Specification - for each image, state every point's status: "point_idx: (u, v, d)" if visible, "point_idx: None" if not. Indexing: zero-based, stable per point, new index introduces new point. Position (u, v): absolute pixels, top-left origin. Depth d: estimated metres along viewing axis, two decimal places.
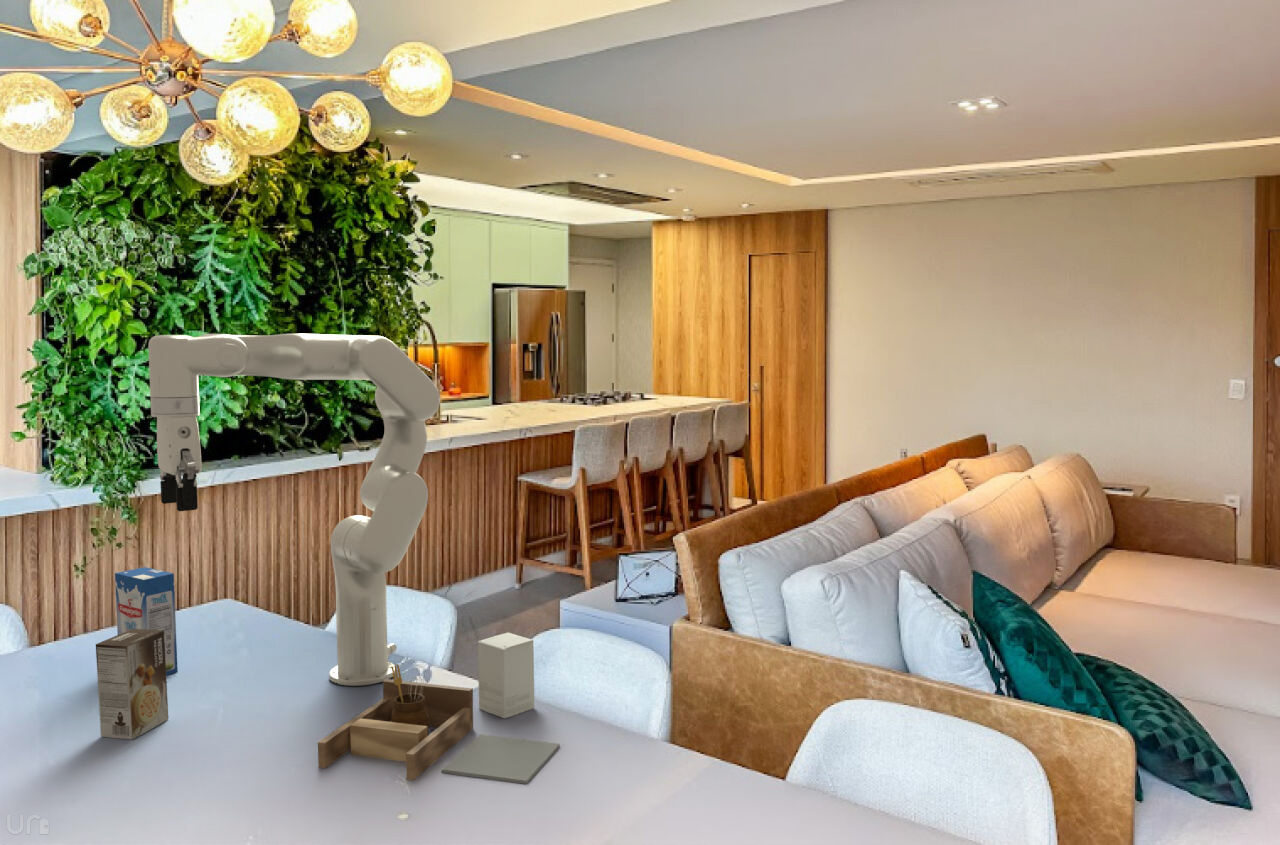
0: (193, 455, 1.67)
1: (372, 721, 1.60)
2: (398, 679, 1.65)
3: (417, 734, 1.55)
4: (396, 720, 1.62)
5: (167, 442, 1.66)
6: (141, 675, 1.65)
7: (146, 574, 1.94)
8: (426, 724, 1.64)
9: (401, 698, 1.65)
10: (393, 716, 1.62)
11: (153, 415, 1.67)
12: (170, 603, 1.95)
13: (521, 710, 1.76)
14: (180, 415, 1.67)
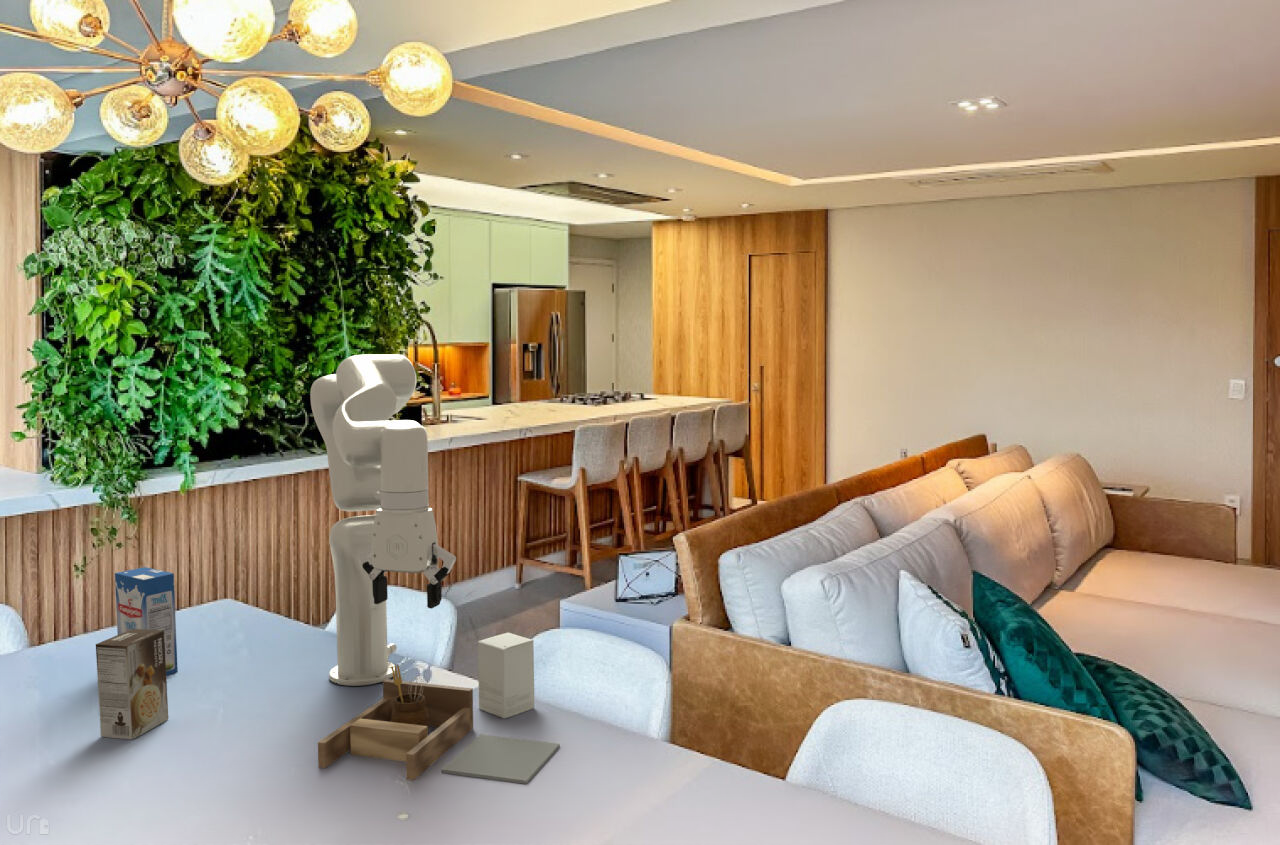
0: None
1: (372, 721, 1.60)
2: (398, 679, 1.65)
3: (417, 734, 1.55)
4: (396, 720, 1.62)
5: None
6: (141, 675, 1.65)
7: (146, 574, 1.94)
8: (426, 724, 1.64)
9: (401, 698, 1.65)
10: (393, 716, 1.62)
11: None
12: (170, 603, 1.95)
13: (521, 710, 1.76)
14: None
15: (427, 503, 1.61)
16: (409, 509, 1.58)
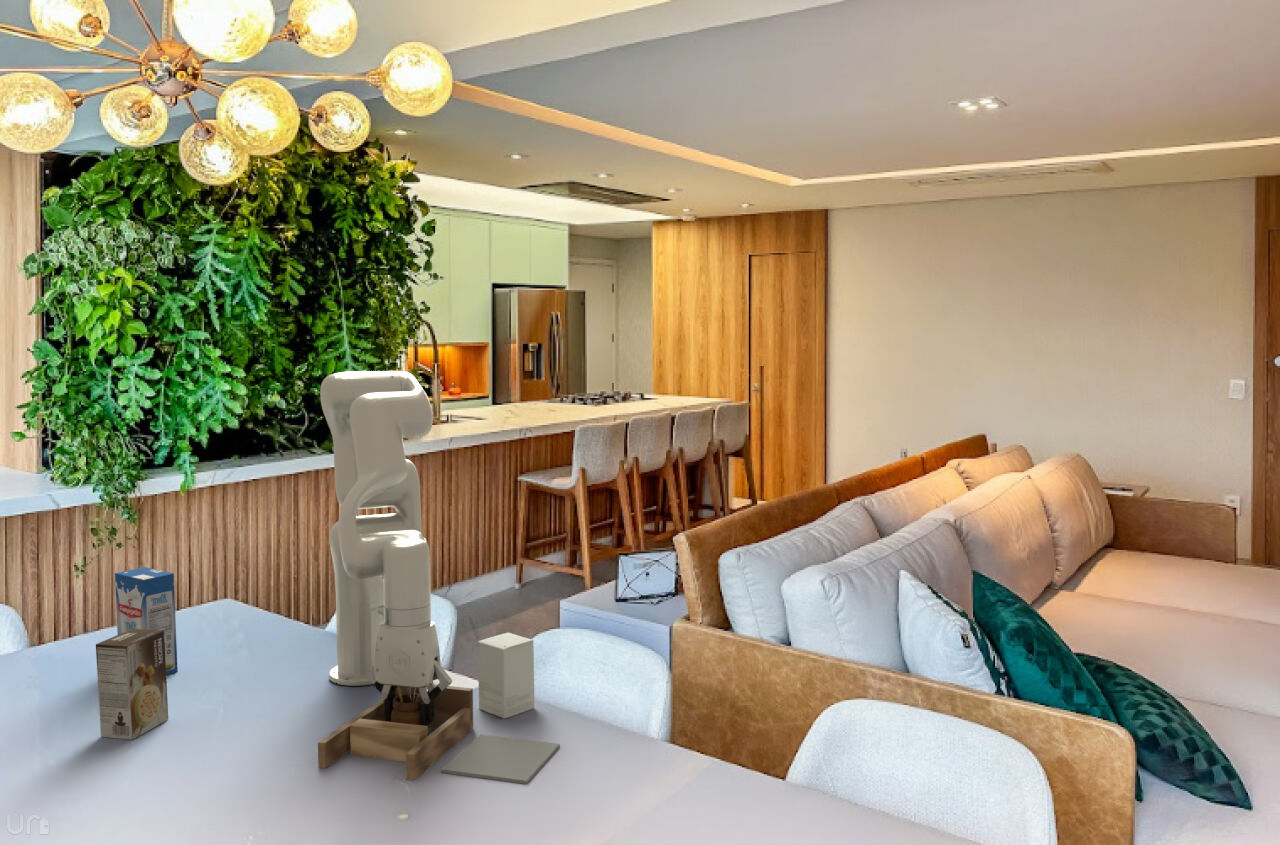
0: None
1: (372, 721, 1.59)
2: None
3: (418, 734, 1.55)
4: (395, 720, 1.62)
5: None
6: (141, 675, 1.65)
7: (146, 574, 1.94)
8: None
9: (400, 698, 1.65)
10: (392, 716, 1.62)
11: None
12: (170, 603, 1.95)
13: (521, 710, 1.76)
14: None
15: (429, 617, 1.62)
16: (411, 626, 1.59)
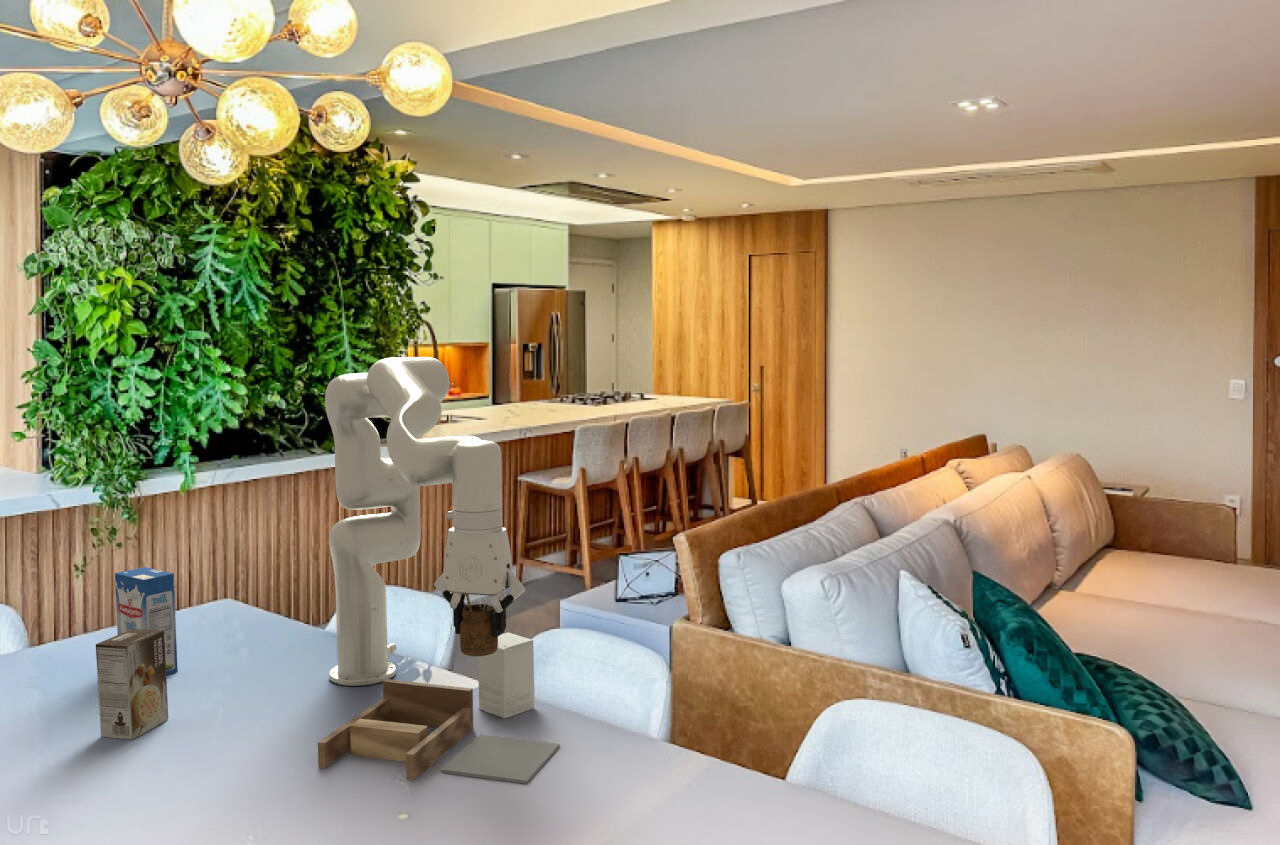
0: None
1: (372, 721, 1.60)
2: None
3: (417, 733, 1.55)
4: (465, 629, 1.54)
5: None
6: (141, 675, 1.65)
7: (146, 574, 1.94)
8: None
9: (470, 608, 1.57)
10: (462, 626, 1.55)
11: None
12: (170, 603, 1.95)
13: (521, 710, 1.76)
14: None
15: (501, 523, 1.55)
16: (483, 529, 1.52)
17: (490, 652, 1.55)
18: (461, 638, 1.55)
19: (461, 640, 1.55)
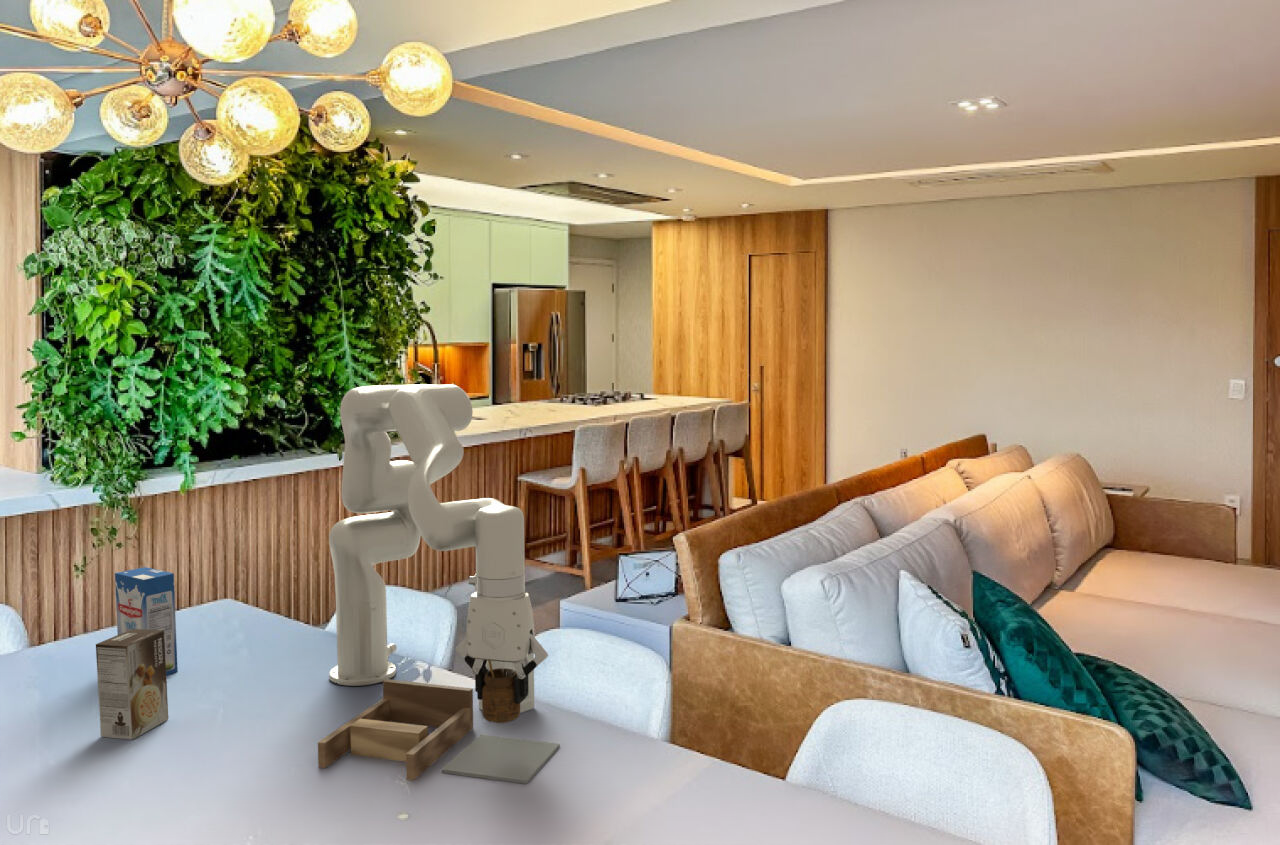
0: None
1: (372, 721, 1.59)
2: None
3: (417, 734, 1.55)
4: (488, 696, 1.53)
5: None
6: (141, 675, 1.65)
7: (146, 574, 1.94)
8: None
9: (492, 673, 1.56)
10: (485, 692, 1.54)
11: None
12: (170, 603, 1.95)
13: (521, 710, 1.76)
14: None
15: (524, 588, 1.54)
16: (507, 597, 1.51)
17: (513, 718, 1.54)
18: (484, 704, 1.54)
19: (484, 706, 1.54)
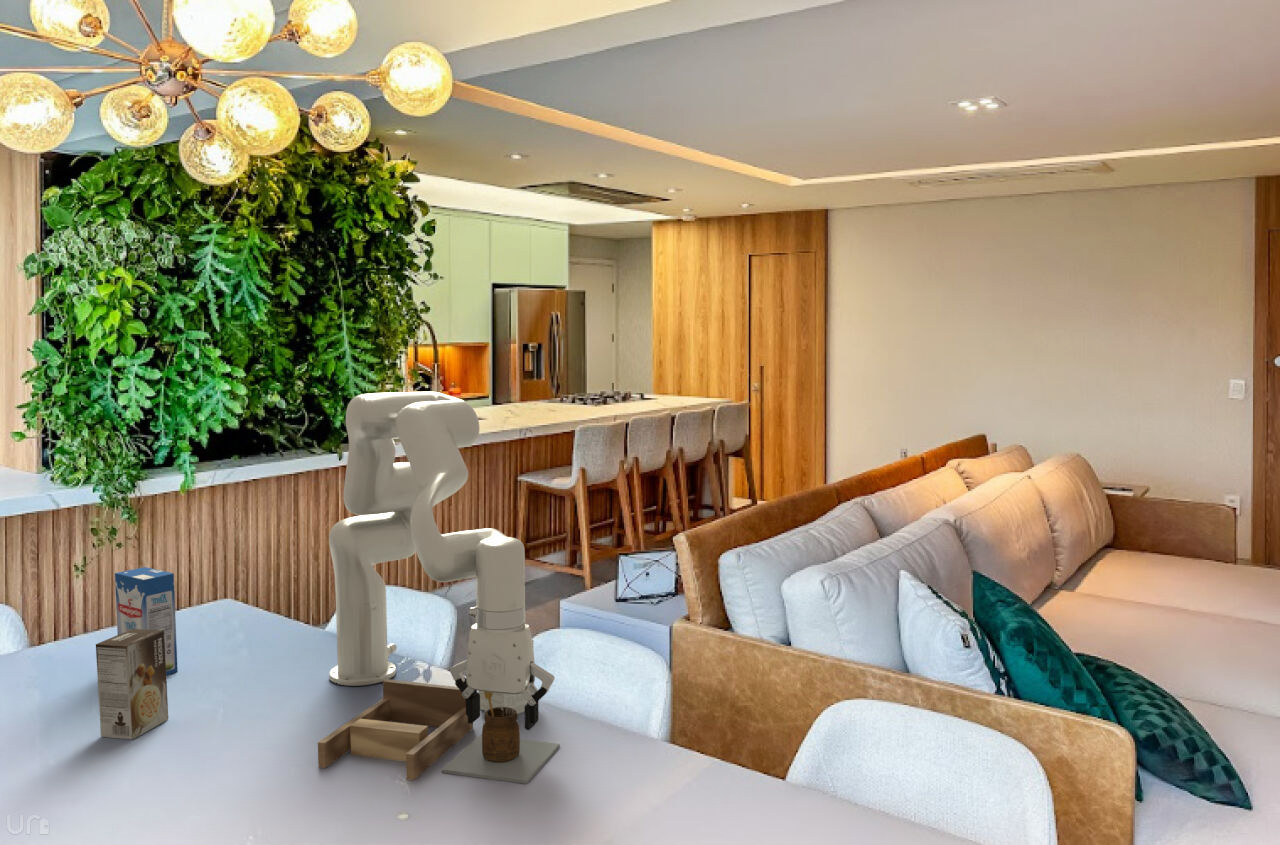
0: None
1: (372, 721, 1.59)
2: (489, 692, 1.57)
3: (418, 734, 1.55)
4: (488, 735, 1.54)
5: None
6: (141, 675, 1.65)
7: (146, 574, 1.94)
8: (518, 740, 1.56)
9: (492, 712, 1.57)
10: (484, 731, 1.55)
11: None
12: (170, 603, 1.95)
13: (521, 710, 1.76)
14: None
15: (524, 620, 1.54)
16: (507, 629, 1.51)
17: (512, 757, 1.55)
18: (483, 743, 1.55)
19: (483, 745, 1.55)
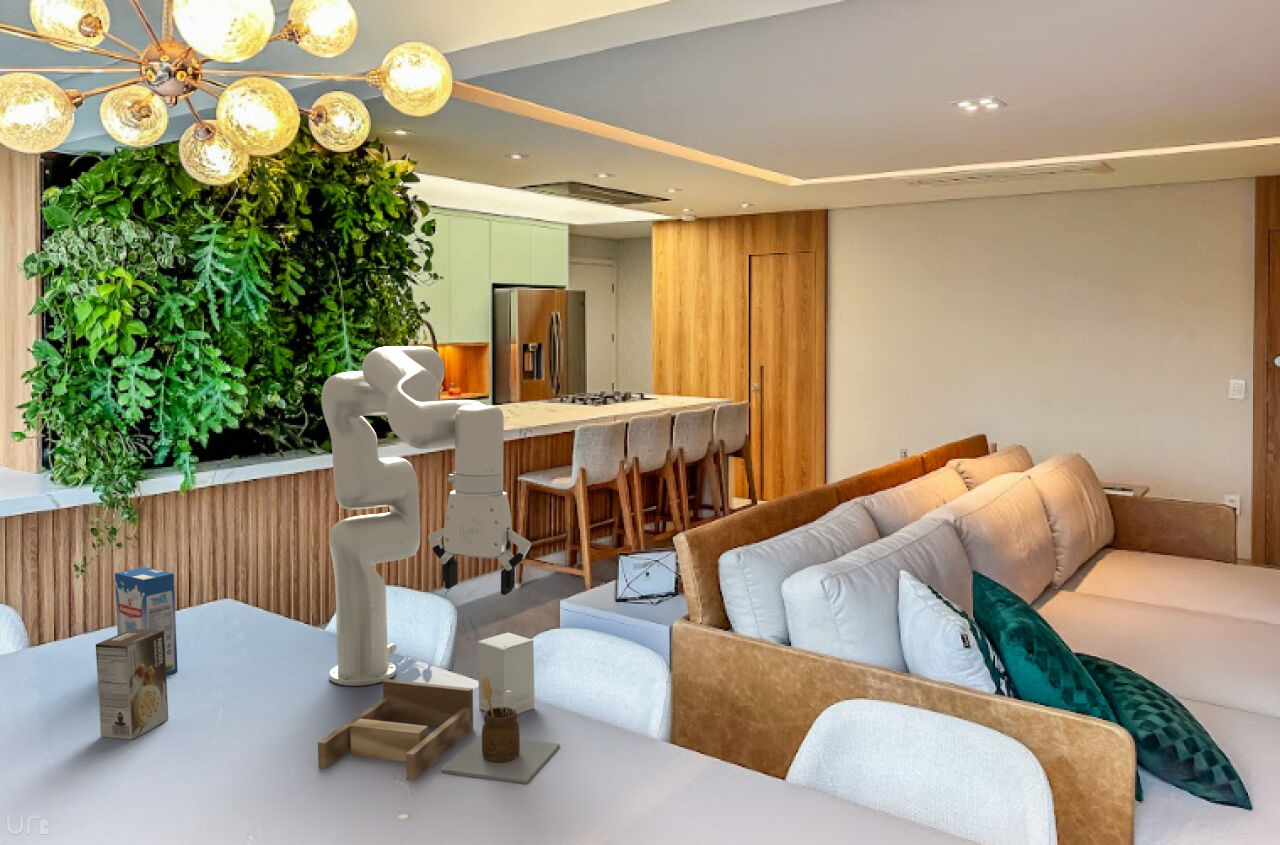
0: None
1: (372, 721, 1.59)
2: (488, 692, 1.57)
3: (418, 734, 1.55)
4: (488, 736, 1.54)
5: None
6: (141, 675, 1.65)
7: (146, 574, 1.94)
8: (518, 740, 1.56)
9: (491, 712, 1.57)
10: (484, 731, 1.55)
11: None
12: (170, 603, 1.95)
13: (521, 710, 1.76)
14: None
15: (502, 487, 1.56)
16: (485, 493, 1.53)
17: (512, 758, 1.55)
18: (483, 743, 1.55)
19: (483, 745, 1.55)
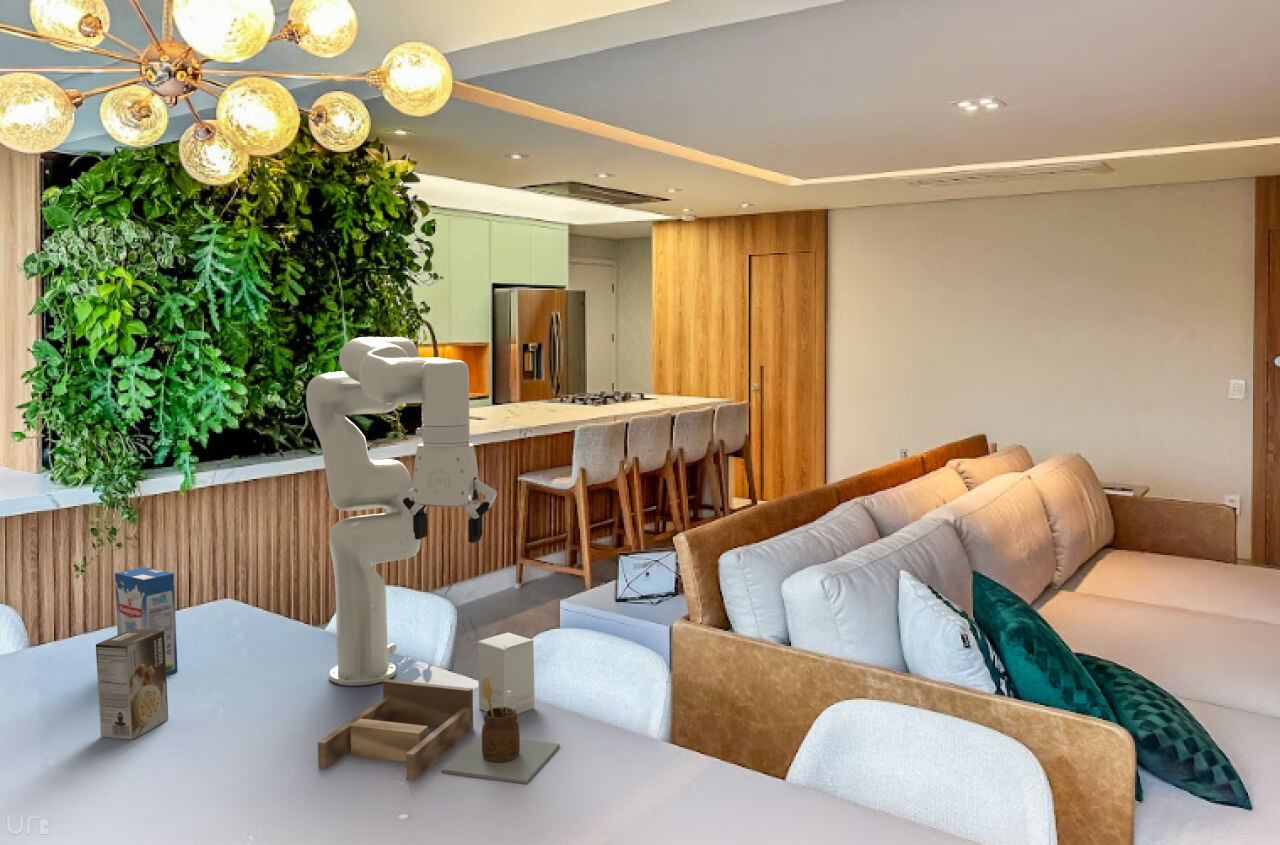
0: None
1: (372, 721, 1.59)
2: (488, 692, 1.57)
3: (418, 734, 1.55)
4: (488, 736, 1.54)
5: None
6: (141, 675, 1.65)
7: (146, 574, 1.94)
8: (518, 740, 1.56)
9: (491, 712, 1.57)
10: (484, 731, 1.55)
11: None
12: (170, 603, 1.95)
13: (521, 710, 1.76)
14: None
15: (468, 438, 1.61)
16: (451, 443, 1.58)
17: (512, 758, 1.55)
18: (483, 743, 1.55)
19: (483, 745, 1.55)
